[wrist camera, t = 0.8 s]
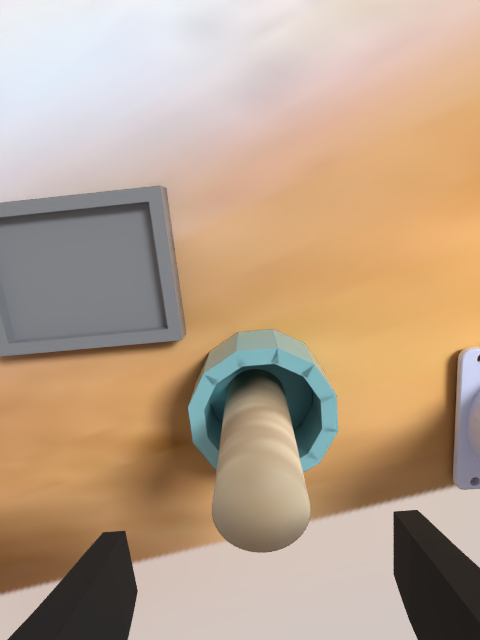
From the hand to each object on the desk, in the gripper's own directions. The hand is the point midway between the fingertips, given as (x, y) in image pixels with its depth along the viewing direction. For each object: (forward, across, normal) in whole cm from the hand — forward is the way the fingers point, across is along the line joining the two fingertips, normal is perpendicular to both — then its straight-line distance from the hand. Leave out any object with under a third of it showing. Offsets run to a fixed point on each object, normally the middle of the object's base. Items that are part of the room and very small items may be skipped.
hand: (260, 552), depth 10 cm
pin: (+10, 0, 0) cm, 10 cm away
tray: (+10, +8, -7) cm, 14 cm away
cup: (+10, 0, 0) cm, 10 cm away
